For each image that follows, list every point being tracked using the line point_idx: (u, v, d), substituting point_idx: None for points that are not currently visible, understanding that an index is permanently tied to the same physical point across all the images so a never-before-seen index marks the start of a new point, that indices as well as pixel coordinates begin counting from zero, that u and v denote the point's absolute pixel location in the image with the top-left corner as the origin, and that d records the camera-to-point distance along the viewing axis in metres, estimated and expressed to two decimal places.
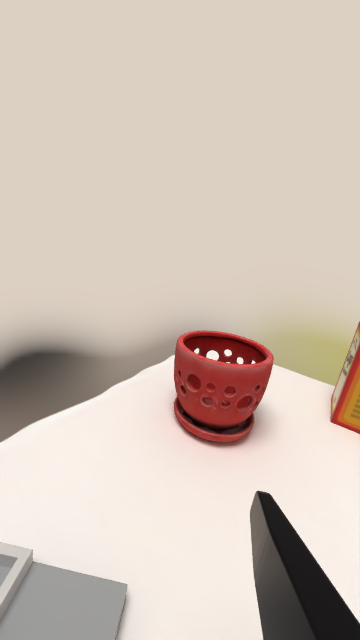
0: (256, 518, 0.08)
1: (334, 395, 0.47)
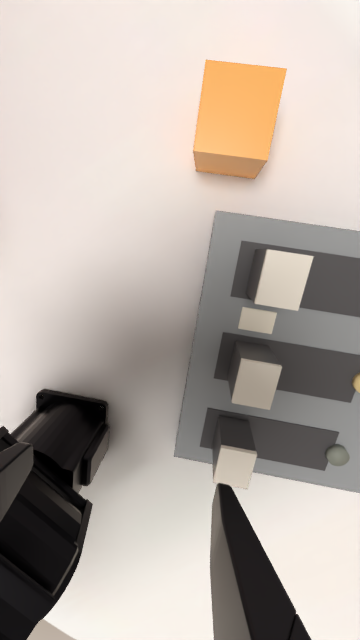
0: (215, 509, 0.08)
1: None
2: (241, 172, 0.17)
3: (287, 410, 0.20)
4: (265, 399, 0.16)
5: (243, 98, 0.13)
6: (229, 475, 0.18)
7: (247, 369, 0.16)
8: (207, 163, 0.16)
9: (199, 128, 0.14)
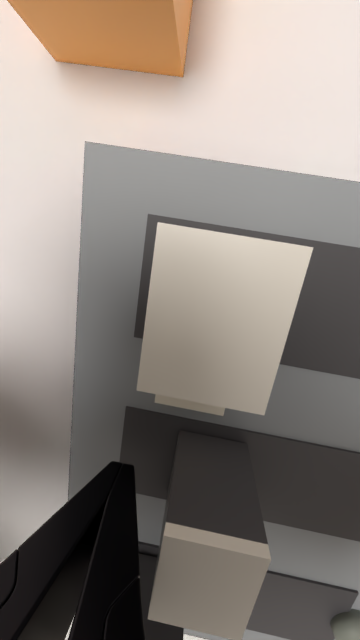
0: None
1: None
2: (141, 46, 0.07)
3: None
4: (229, 620, 0.06)
5: None
6: None
7: (179, 556, 0.06)
8: (40, 6, 0.06)
9: None
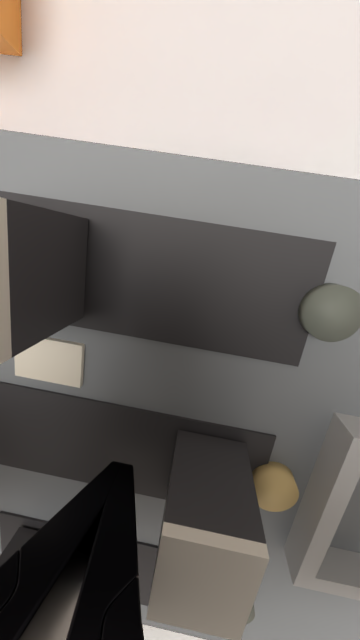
0: None
1: None
2: None
3: (140, 523, 0.11)
4: (227, 620, 0.06)
5: None
6: None
7: (177, 556, 0.06)
8: None
9: None
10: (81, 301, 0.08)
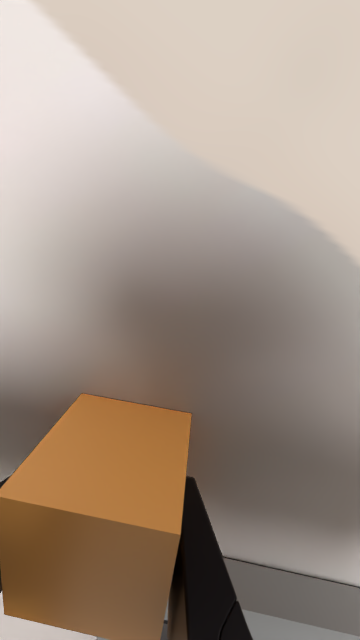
0: None
1: None
2: None
3: None
4: None
5: (89, 564, 0.06)
6: None
7: None
8: None
9: (7, 590, 0.06)
10: None
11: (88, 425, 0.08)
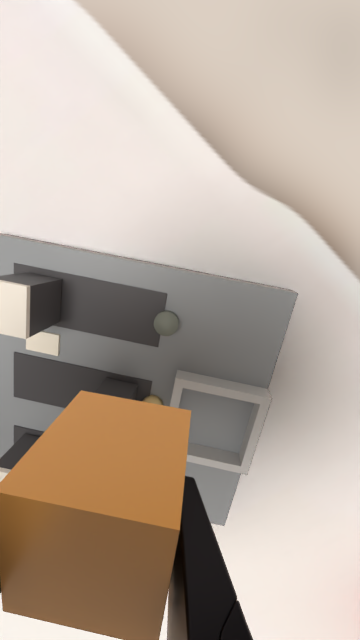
0: None
1: None
2: None
3: None
4: None
5: (88, 559, 0.06)
6: None
7: None
8: None
9: (6, 586, 0.06)
10: (58, 314, 0.18)
11: (87, 422, 0.08)
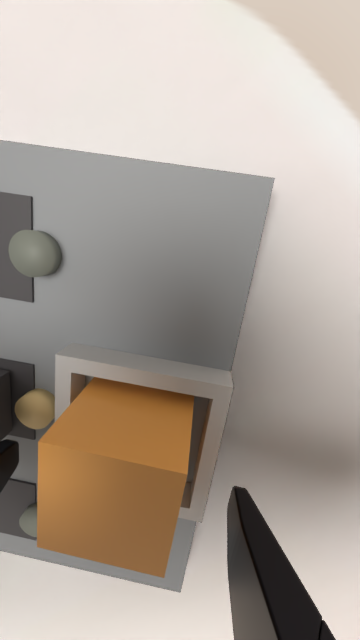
0: (231, 513, 0.08)
1: None
2: None
3: None
4: None
5: (112, 500, 0.07)
6: None
7: None
8: None
9: (42, 524, 0.08)
10: None
11: (107, 396, 0.09)
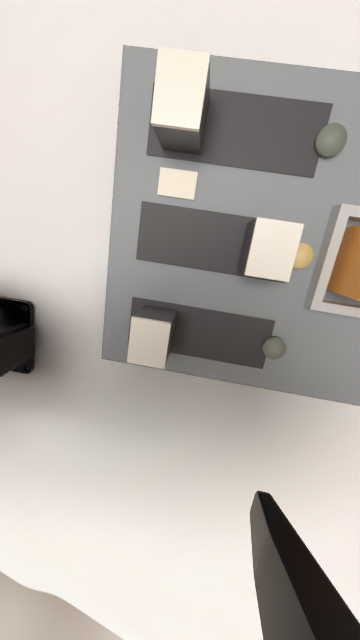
0: (256, 518, 0.08)
1: None
2: None
3: (218, 296, 0.18)
4: (283, 268, 0.14)
5: None
6: (143, 352, 0.16)
7: (263, 229, 0.13)
8: None
9: None
10: (202, 142, 0.16)
11: None
